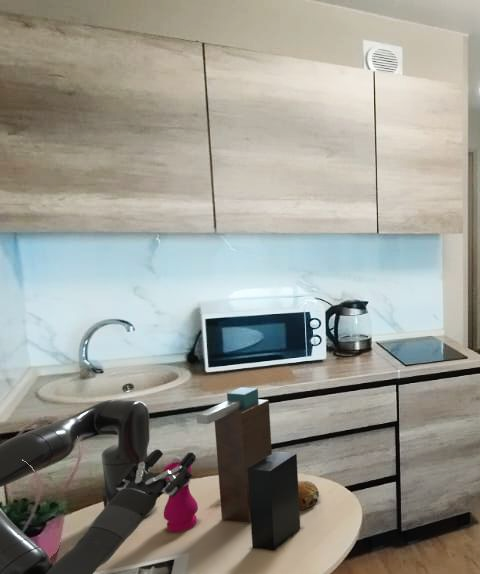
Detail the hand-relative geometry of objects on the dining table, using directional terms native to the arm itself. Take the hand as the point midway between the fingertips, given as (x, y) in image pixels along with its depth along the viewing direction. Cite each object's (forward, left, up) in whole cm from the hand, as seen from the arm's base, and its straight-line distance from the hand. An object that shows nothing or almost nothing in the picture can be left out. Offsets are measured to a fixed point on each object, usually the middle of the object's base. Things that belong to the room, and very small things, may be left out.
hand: (176, 452), depth 138 cm
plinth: (0, +21, -28) cm, 35 cm away
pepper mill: (-12, +12, -28) cm, 33 cm away
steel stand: (+16, +11, -28) cm, 34 cm away
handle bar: (0, +16, +4) cm, 16 cm away
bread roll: (+11, +28, -28) cm, 41 cm away
